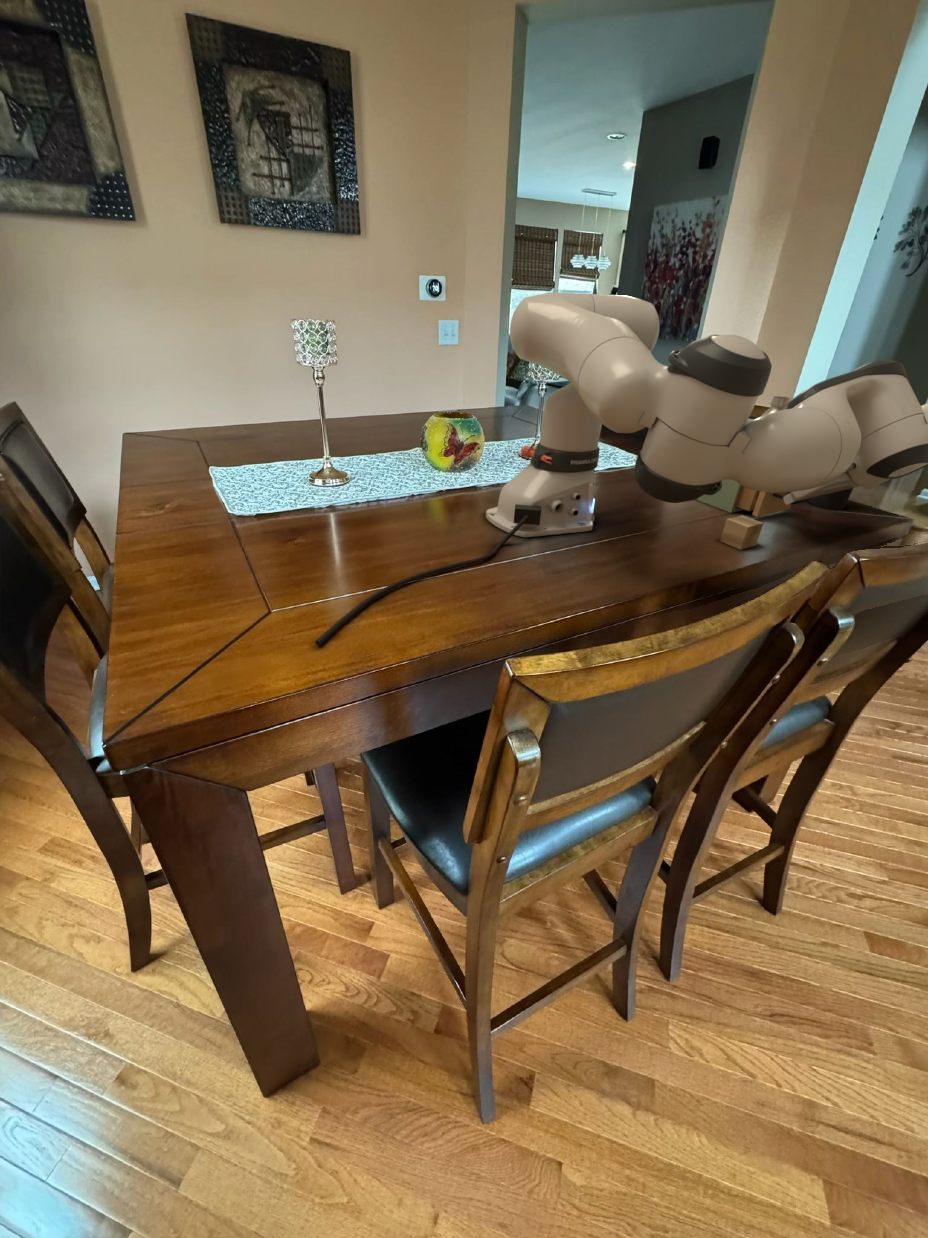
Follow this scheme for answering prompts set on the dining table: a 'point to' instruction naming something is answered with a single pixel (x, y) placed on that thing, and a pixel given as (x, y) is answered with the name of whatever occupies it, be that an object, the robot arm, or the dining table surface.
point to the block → (741, 532)
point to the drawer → (763, 501)
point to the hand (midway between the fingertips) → (797, 498)
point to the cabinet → (724, 496)
